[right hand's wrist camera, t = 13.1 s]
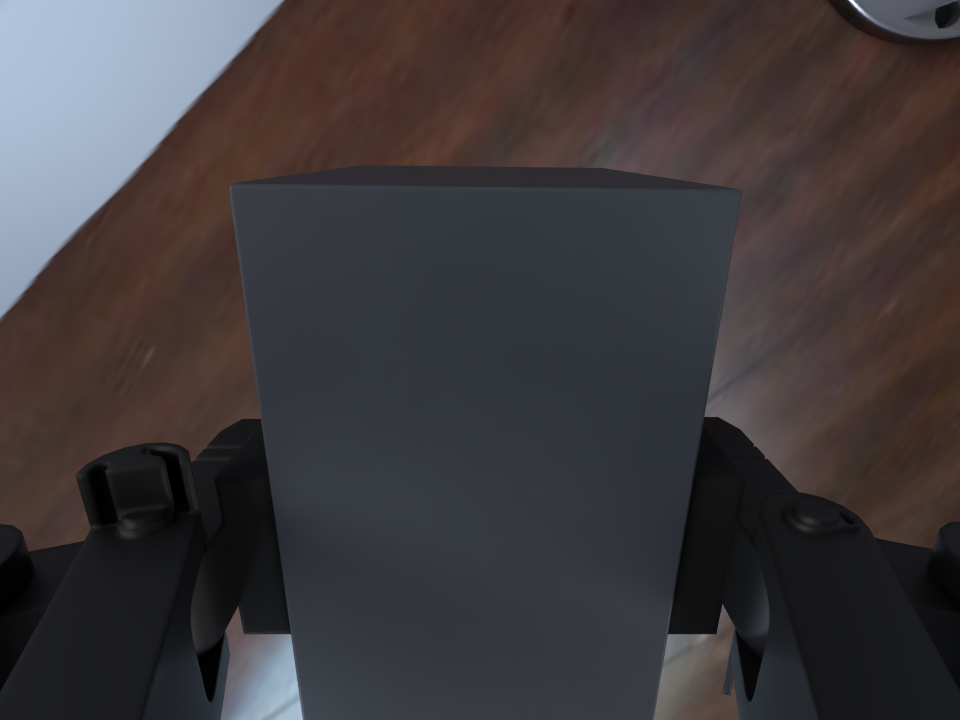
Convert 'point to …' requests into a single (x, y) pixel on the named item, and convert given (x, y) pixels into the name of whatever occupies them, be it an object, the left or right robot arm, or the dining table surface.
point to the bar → (481, 428)
